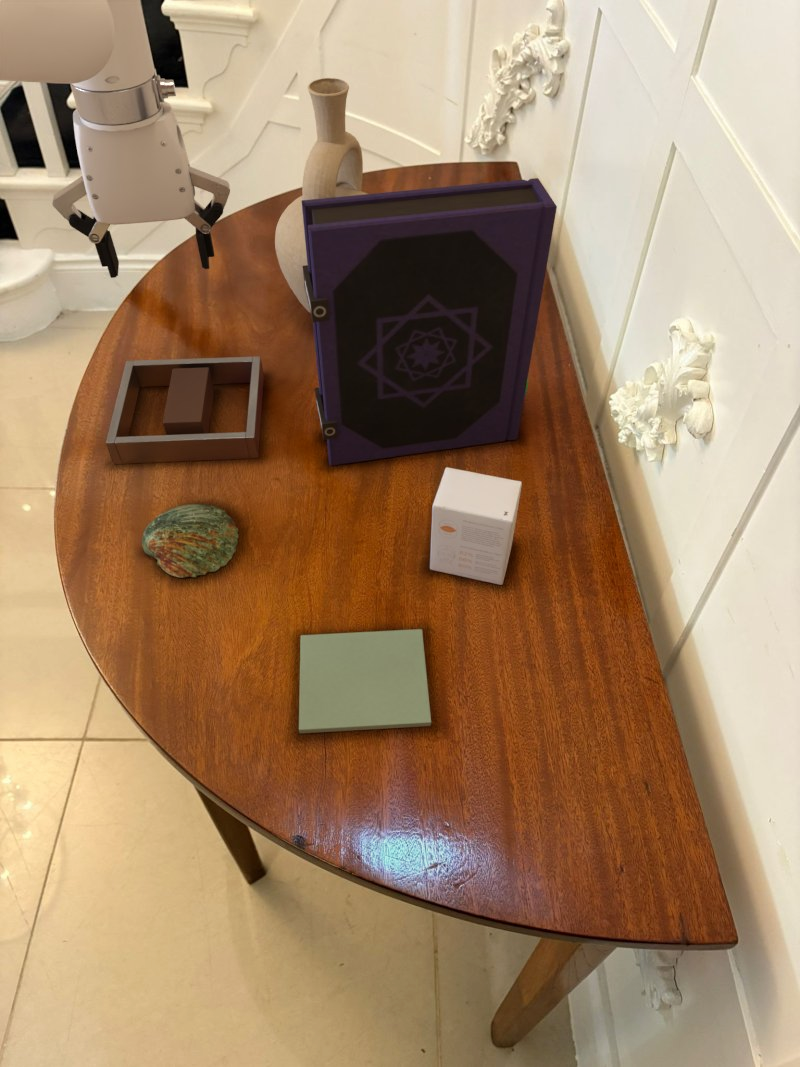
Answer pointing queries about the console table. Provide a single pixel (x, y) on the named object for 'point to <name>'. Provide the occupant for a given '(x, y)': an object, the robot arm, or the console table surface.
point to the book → (424, 314)
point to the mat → (363, 681)
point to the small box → (473, 525)
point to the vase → (320, 177)
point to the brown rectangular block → (189, 402)
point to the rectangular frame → (185, 444)
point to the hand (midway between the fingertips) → (160, 266)
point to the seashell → (191, 540)
